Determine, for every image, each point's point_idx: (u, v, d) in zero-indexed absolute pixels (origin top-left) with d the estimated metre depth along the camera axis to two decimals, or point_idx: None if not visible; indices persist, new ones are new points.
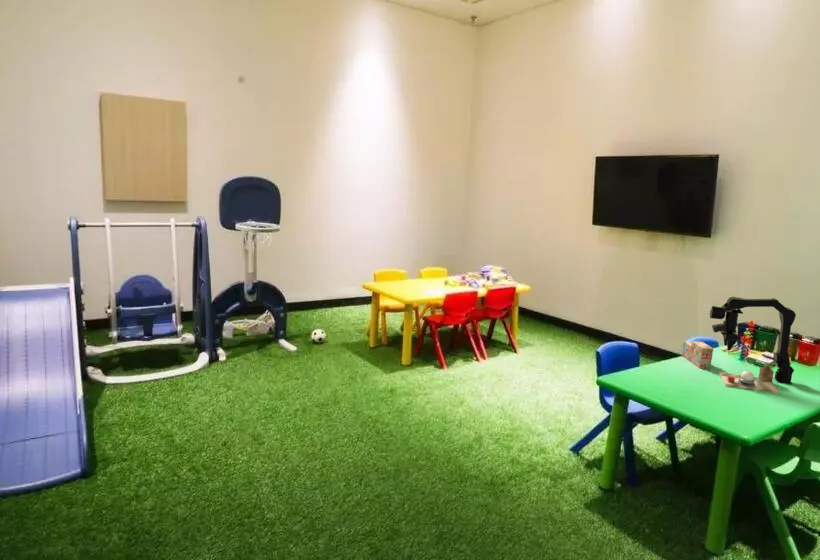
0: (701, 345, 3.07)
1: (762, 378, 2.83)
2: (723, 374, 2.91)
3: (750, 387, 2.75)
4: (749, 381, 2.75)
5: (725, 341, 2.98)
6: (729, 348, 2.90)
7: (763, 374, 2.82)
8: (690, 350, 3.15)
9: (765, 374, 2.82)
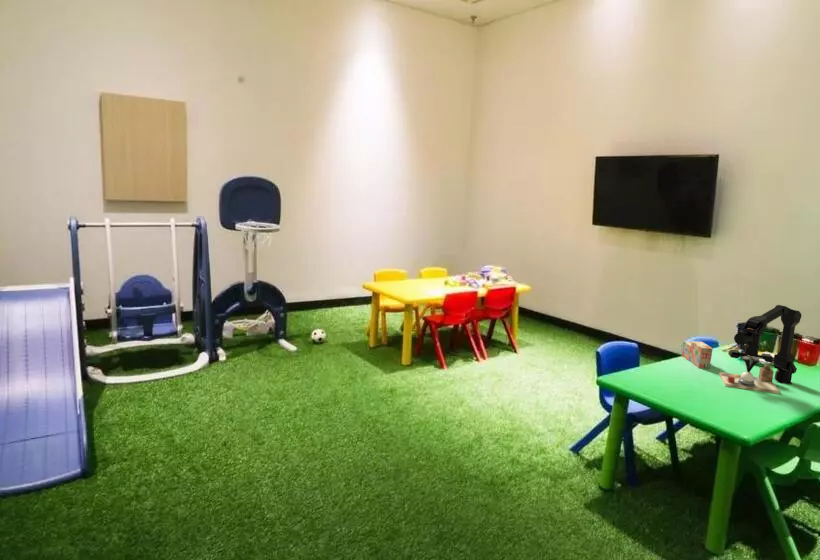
0: (700, 345, 3.07)
1: (762, 378, 2.83)
2: (723, 374, 2.91)
3: (750, 387, 2.75)
4: (749, 382, 2.75)
5: None
6: (747, 369, 2.77)
7: (763, 374, 2.82)
8: (690, 350, 3.15)
9: (765, 374, 2.82)
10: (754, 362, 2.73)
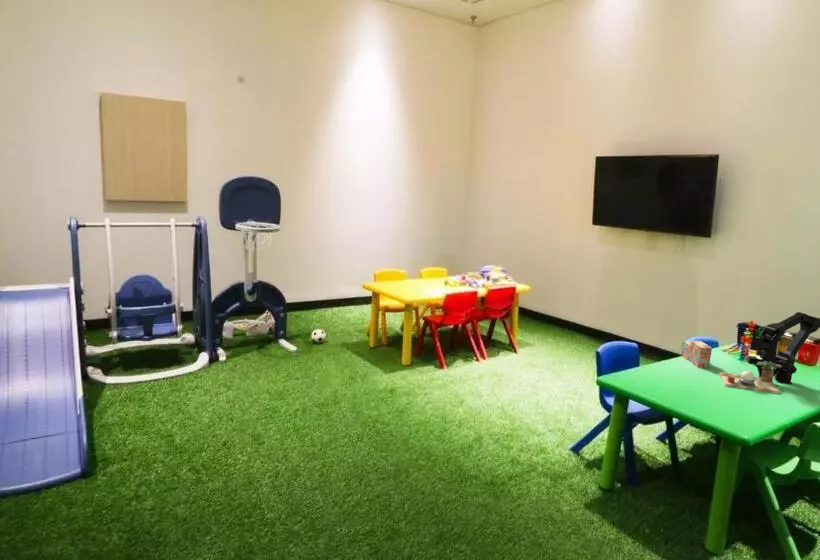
0: (700, 344, 3.08)
1: (762, 378, 2.83)
2: (723, 374, 2.91)
3: (750, 387, 2.75)
4: (749, 381, 2.75)
5: None
6: (759, 374, 2.85)
7: (763, 374, 2.82)
8: (689, 349, 3.16)
9: (765, 374, 2.82)
10: (777, 369, 2.79)
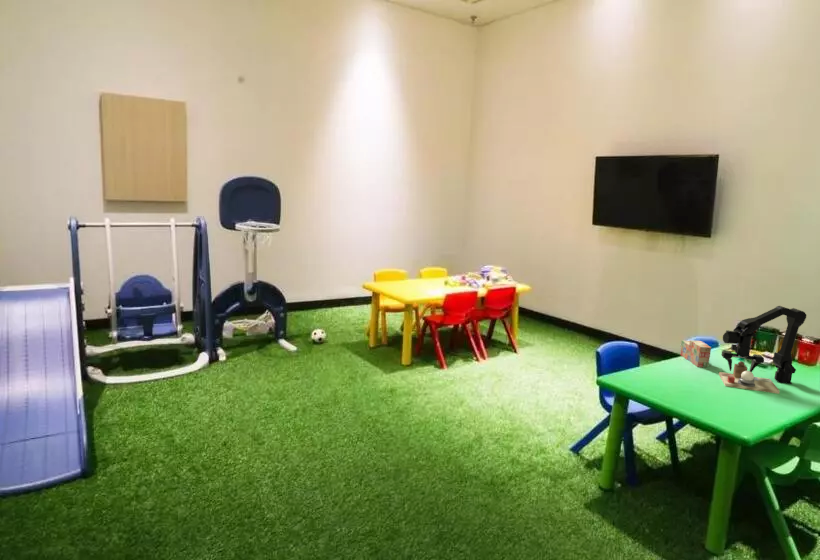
0: (699, 344, 3.09)
1: (736, 375, 2.87)
2: (723, 374, 2.91)
3: (750, 387, 2.75)
4: (749, 381, 2.75)
5: (750, 368, 2.86)
6: (729, 368, 2.89)
7: (737, 371, 2.86)
8: (688, 349, 3.17)
9: (739, 371, 2.86)
10: (755, 364, 2.82)
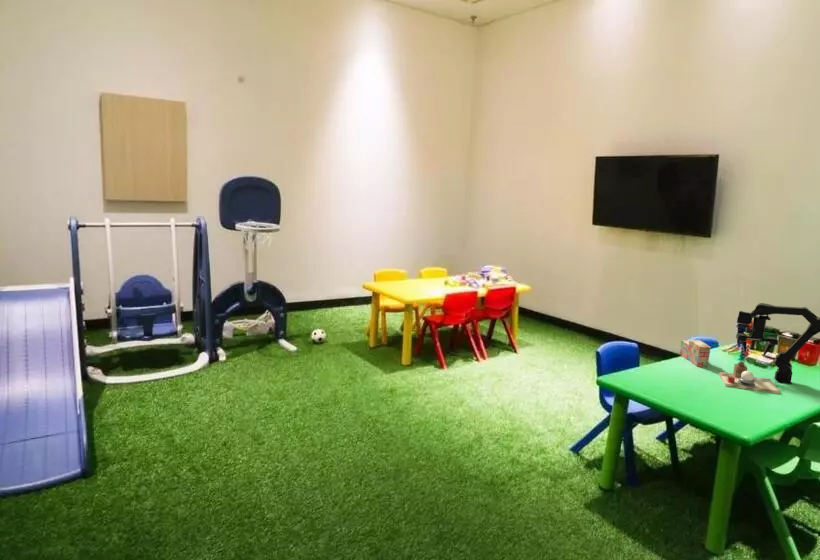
0: (698, 343, 3.09)
1: (736, 375, 2.87)
2: (723, 374, 2.91)
3: (750, 387, 2.75)
4: (749, 381, 2.75)
5: (764, 350, 2.93)
6: (744, 350, 2.95)
7: (737, 371, 2.86)
8: (688, 348, 3.18)
9: (739, 371, 2.86)
10: (769, 346, 2.88)
